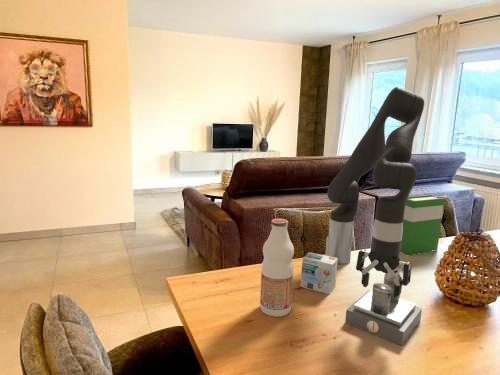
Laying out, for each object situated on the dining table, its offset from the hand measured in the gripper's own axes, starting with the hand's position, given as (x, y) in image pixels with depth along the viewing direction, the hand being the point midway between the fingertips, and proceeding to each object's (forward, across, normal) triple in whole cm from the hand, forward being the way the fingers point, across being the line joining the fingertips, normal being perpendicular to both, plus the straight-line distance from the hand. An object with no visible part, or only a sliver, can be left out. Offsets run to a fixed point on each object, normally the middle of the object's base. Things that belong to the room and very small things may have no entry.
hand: (380, 291), depth 104 cm
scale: (+11, -1, -4) cm, 11 cm away
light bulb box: (+11, +24, -10) cm, 29 cm away
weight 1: (+5, -1, +1) cm, 5 cm away
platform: (+6, -1, -4) cm, 8 cm away
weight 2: (+5, 0, -8) cm, 10 cm away
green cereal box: (+12, +11, -72) cm, 73 cm away
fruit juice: (+11, +26, +12) cm, 31 cm away
